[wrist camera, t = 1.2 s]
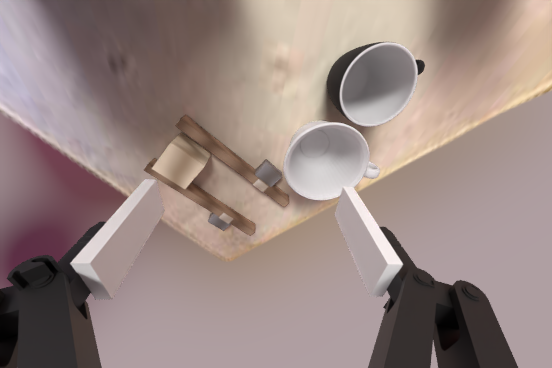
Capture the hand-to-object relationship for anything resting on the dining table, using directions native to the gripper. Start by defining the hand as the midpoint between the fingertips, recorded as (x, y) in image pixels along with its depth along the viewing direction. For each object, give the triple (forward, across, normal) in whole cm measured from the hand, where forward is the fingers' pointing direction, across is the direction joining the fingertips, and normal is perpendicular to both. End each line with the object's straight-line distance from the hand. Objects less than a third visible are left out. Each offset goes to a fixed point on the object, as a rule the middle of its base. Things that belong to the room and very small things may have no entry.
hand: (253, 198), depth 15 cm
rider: (+23, -12, -8) cm, 28 cm away
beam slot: (+23, -6, -13) cm, 27 cm away
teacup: (+23, +11, -4) cm, 26 cm away
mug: (+24, +15, +7) cm, 29 cm away
